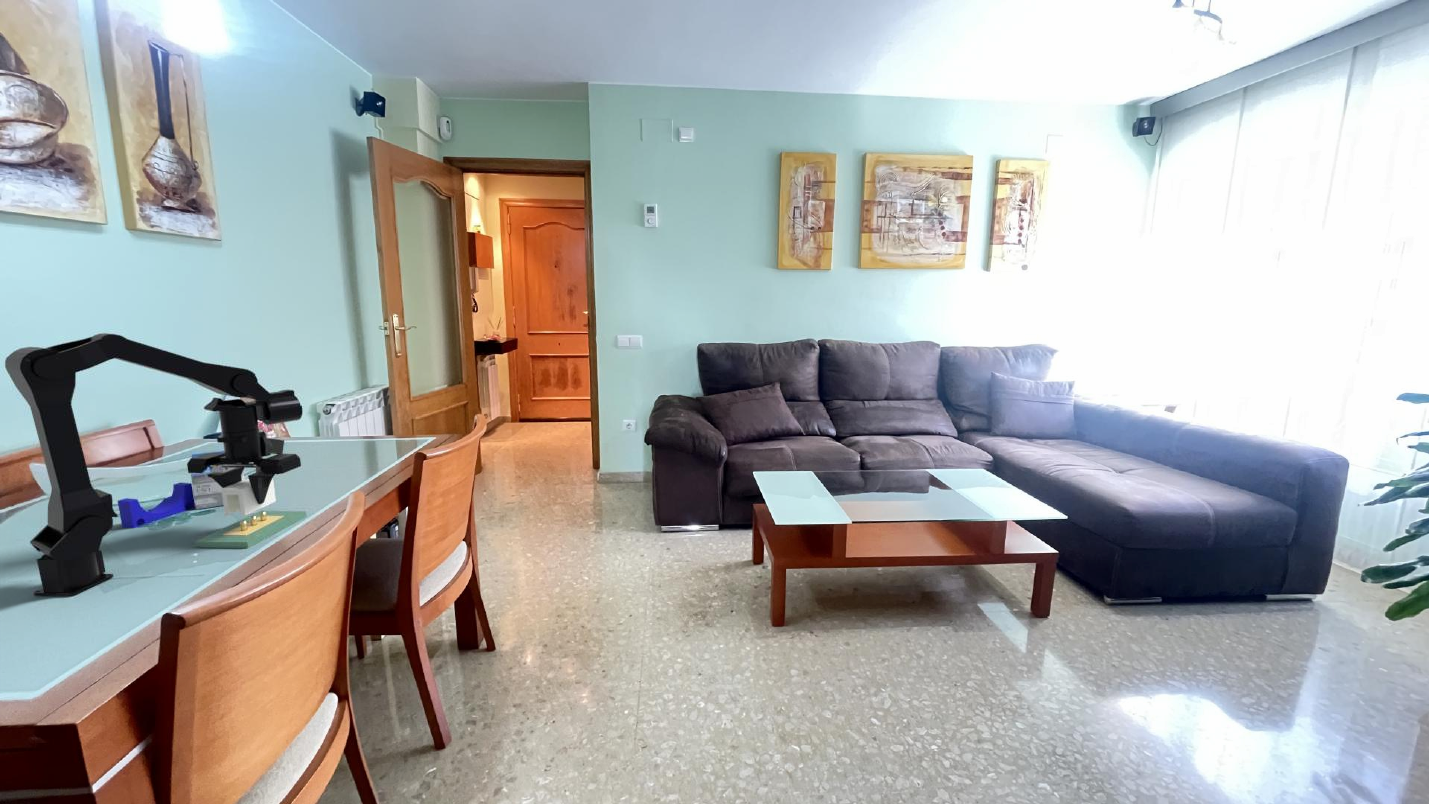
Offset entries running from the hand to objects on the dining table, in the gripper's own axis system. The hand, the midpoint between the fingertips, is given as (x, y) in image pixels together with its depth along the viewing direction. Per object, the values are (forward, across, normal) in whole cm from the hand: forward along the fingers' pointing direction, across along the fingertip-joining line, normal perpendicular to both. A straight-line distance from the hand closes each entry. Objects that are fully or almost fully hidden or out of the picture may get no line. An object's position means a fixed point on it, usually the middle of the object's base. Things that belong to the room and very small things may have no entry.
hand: (250, 503), depth 115 cm
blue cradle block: (+6, +27, -7) cm, 28 cm away
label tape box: (+6, +19, -15) cm, 25 cm away
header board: (+6, 0, 0) cm, 6 cm away
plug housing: (+1, 0, 0) cm, 1 cm away
